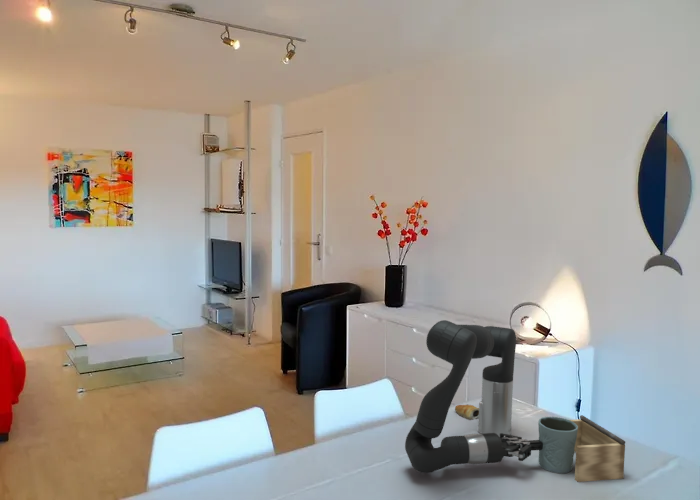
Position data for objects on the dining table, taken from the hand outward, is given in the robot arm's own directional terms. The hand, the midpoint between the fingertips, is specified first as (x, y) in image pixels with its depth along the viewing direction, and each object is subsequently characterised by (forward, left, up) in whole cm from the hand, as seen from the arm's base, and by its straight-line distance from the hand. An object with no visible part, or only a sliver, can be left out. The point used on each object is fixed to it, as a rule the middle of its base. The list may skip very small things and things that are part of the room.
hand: (541, 444), depth 153 cm
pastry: (-30, +27, -7) cm, 41 cm away
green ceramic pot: (+4, +3, -6) cm, 8 cm away
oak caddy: (+8, +8, -6) cm, 13 cm away
